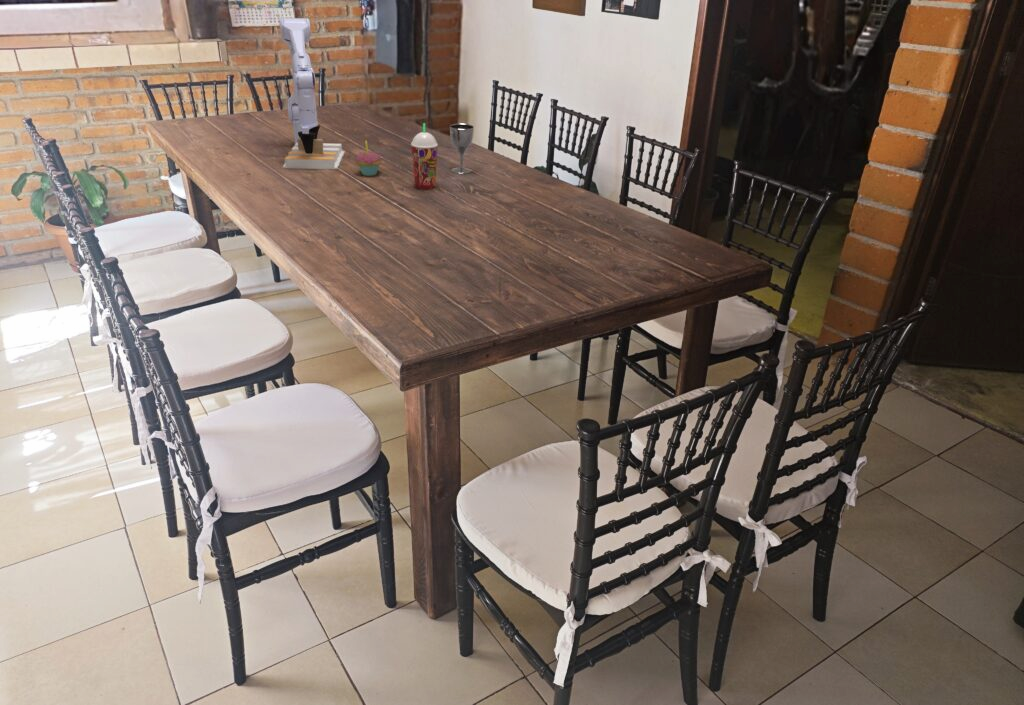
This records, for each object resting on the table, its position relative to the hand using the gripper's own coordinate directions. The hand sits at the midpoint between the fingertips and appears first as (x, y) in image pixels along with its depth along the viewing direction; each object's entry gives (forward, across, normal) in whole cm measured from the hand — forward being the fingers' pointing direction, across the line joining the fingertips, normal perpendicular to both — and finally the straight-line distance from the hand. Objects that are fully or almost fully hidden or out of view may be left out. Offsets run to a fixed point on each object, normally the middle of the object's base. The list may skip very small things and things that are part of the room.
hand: (310, 150), depth 255 cm
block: (+4, 0, 0) cm, 4 cm away
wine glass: (+5, +3, +51) cm, 51 cm away
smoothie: (+5, +22, +39) cm, 45 cm away
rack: (+5, -6, 0) cm, 8 cm away
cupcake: (+5, +9, +20) cm, 22 cm away
